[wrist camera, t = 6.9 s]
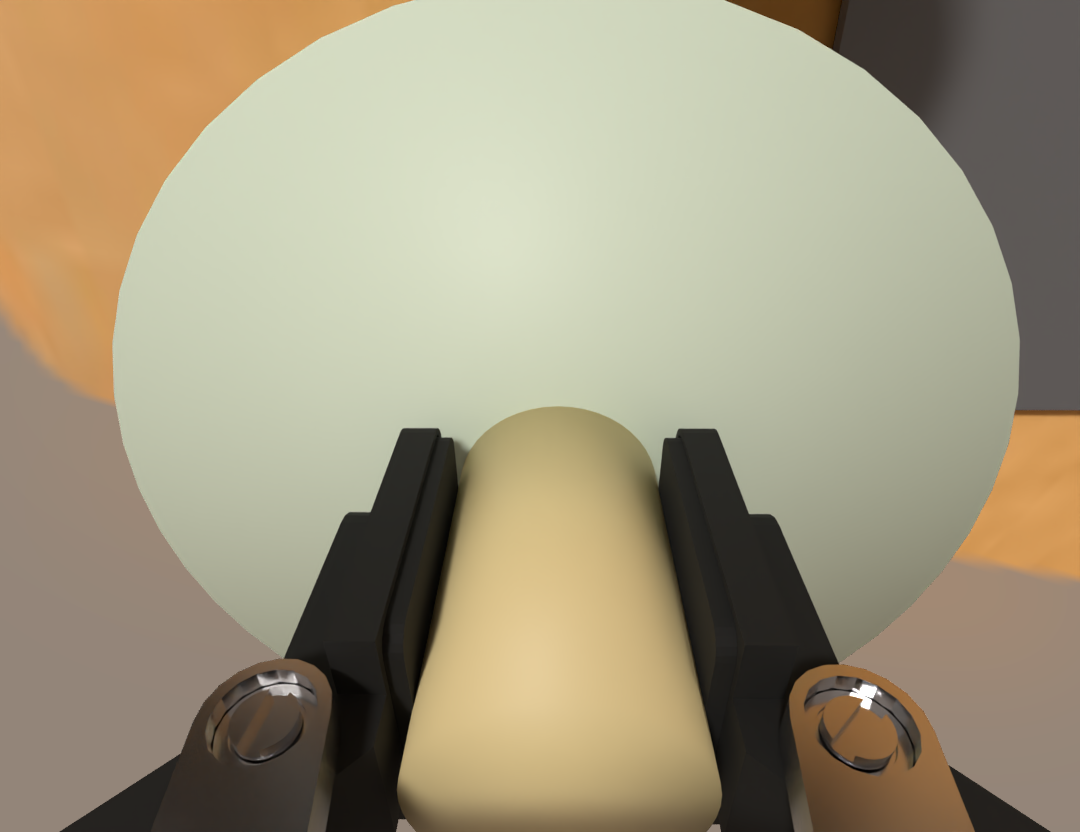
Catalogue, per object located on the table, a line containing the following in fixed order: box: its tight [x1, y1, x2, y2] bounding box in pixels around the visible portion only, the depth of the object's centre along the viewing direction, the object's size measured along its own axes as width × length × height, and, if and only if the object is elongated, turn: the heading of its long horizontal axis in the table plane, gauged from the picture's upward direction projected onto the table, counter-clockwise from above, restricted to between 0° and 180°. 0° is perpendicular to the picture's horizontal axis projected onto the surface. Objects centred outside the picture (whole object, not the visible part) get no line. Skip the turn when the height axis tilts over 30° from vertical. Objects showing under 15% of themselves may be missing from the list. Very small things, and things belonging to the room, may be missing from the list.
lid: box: [113, 0, 1020, 832], centre depth 9 cm, size 14×14×6 cm
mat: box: [833, 0, 1080, 410], centre depth 23 cm, size 15×15×1 cm
